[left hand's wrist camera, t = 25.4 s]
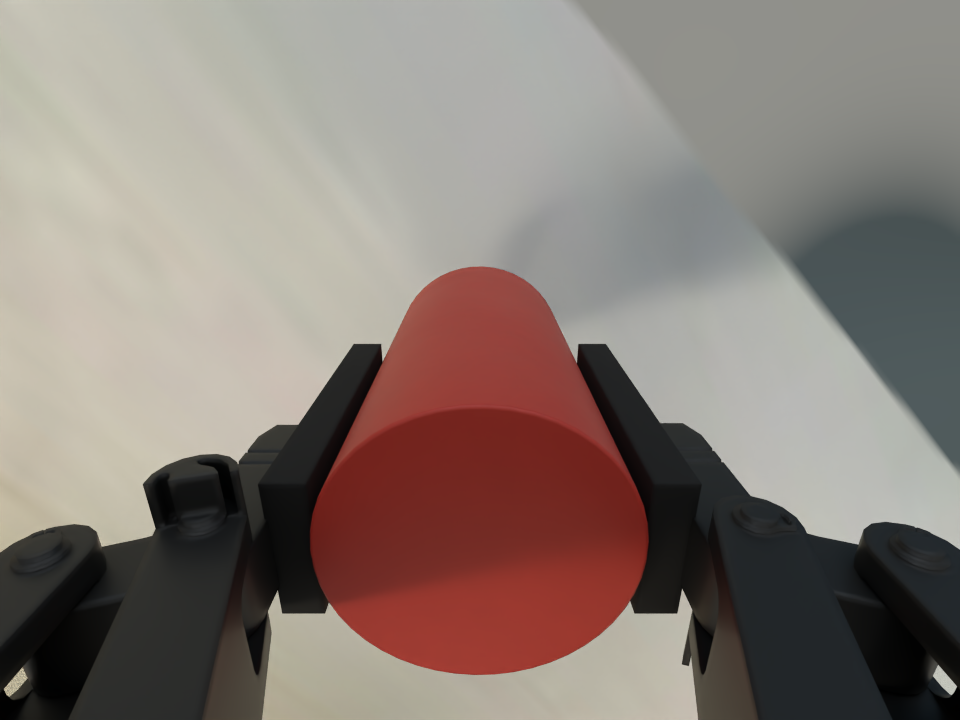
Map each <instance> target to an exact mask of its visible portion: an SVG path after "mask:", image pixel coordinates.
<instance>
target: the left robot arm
mask: <svg viewBox="0 0 960 720" xmlns="http://www.w3.org/2000/svg"><path fill="white" fill-rule="evenodd" d="M381 365H382V350H381V344H354V345H353V346H352V348H351V349H350V350H349V352H348V353H347V355H346V356H345V358H344V359H343V361H342V362H341V364H340V365H339V366H338V368H337V369H336V371H335V372H334V374H333V375H332V377H331V378H330V380H329V381H328V382H327V384H326V385H325V387H324V388H323V390H322V391H321V393H320V394H319V396H318V397H317V399H316V400H315V401H314V403H313V404H312V406H311V407H310V409H309V410H308V412H307V413H306V415H305V416H304V417H303V419H302V420H301V422H300V423H299V425H276V426H275V427H273V428H272V429H270V430H268V431H267V432H265V433H264V434H262V435H260V436H259V437H258V438H257V439H256V441H255V442H254V443H253V444H252V446H251V447H250V448H249V449H248V453H245V454H244V456H243V457H242V458H241V459H240V461H239V464H237V462H236V461H235V460H233V459H232V458H231V457H229V456H224V455H219V454H209V455H198V456H193V457H189V458H184V459H181V460H179V461H176V462H174V463H171V464H169V465H166V466H164V467H163V468H161V469H160V470H158V471H156V472H155V473H153V474H152V475H151V476H150V477H149V478H148V479H147V480H146V481H145V482H144V484H143V487H144V490H145V493H146V497H147V500H148V504H149V507H150V511H151V514H152V518H153V521H154V524H155V528H156V529H155V531H154V534H153V536H150V537H147V538H143V539H138V540H133V541H128V542H123V543H119V544H114V545H109V546H104V547H102V546H101V543H100V541H99V538H98V535H97V532H96V531H95V530H93V529H92V528H91V527H89V526H84V525H76V524H73V525H65V526H58V527H53V528H48V529H46V530H44V531H43V530H42V531H39V532H36V533H33V534H31V535H30V536H28V537H26V538H24V539H22V540H20V541H18V542H16V543H13V544H12V545H11V546H9V547H8V548H6V549H5V550H3V551H2V552H0V720H262V713H263V704H264V695H265V686H266V677H267V669H268V660H269V651H270V642H271V633H272V632H271V626H270V620H269V615H268V610H269V608H270V605H271V603H272V601H273V599H274V597H275V595H276V593H277V590H278V593H279V598H280V604H281V609H282V613H325V612H326V609H327V606H328V603H329V601H328V600H327V598H326V596H325V594H324V592H323V591H322V589H321V587H320V585H319V582H318V579H317V576H316V574H315V571H314V567H313V562H312V557H311V551H310V528H311V521H312V514H313V511H314V508H315V504H316V501H317V498H318V495H319V493H320V491H321V489H322V487H323V485H324V483H325V481H326V479H327V477H328V475H329V473H330V471H331V468H332V466H333V464H334V462H335V460H336V458H337V456H338V454H339V452H340V450H341V448H342V446H343V444H344V442H345V439H346V437H347V435H348V433H349V431H350V429H351V427H352V425H353V423H354V421H355V419H356V417H357V415H358V412H359V410H360V408H361V406H362V404H363V402H364V400H365V398H366V396H367V394H368V392H369V390H370V388H371V386H372V383H373V381H374V379H375V377H376V375H377V373H378V371H379V369H380V367H381ZM577 365H578V367H579V369H580V371H581V373H582V376H583V378H584V380H585V382H586V384H587V386H588V388H589V390H590V392H591V394H592V396H593V398H594V400H595V403H596V405H597V407H598V409H599V411H600V413H601V415H602V417H603V419H604V421H605V423H606V425H607V428H608V430H609V432H610V434H611V436H612V438H613V440H614V442H615V444H616V446H617V448H618V450H619V452H620V455H621V457H622V459H623V461H624V463H625V465H626V467H627V469H628V471H629V473H630V475H631V477H632V480H633V482H634V484H635V486H636V488H637V490H638V493H639V495H640V498H641V500H642V503H643V505H644V509H645V514H646V518H647V523H648V539H649V543H648V552H647V560H646V564H645V568H644V571H643V575H642V578H641V580H640V583H639V585H638V587H637V589H636V591H635V594H634V595H633V597H632V598H631V600H630V602H631V604H632V607H633V610H634V613H677V612H678V607H679V602H680V596H681V591H682V589H683V591H684V593H685V595H686V597H687V599H688V601H689V604H690V606H691V608H692V615H691V620H690V625H689V630H688V634H687V639H686V644H685V649H684V654H683V661H682V664H683V665H687V666H689V663H690V658H692V667H693V676H694V685H695V694H696V703H697V712H698V720H960V550H959V549H958V548H956V547H955V546H953V545H952V544H951V543H949V542H948V541H946V540H944V539H942V538H940V537H937V536H935V535H933V534H931V533H930V532H928V531H926V530H923V529H920V528H915V527H914V526H909V525H905V524H897V523H890V522H881V523H873V524H871V525H869V526H868V527H867V528H865V529H864V530H863V533H862V536H861V539H860V542H859V545H857V544H852V543H847V542H842V541H838V540H833V539H828V538H823V537H818V536H814V535H810V534H807V533H806V530H805V528H804V527H803V526H802V524H801V523H800V522H799V520H798V519H797V518H796V517H795V516H794V515H792V514H791V513H790V512H788V511H787V510H785V509H784V508H783V507H780V506H778V505H776V504H774V503H772V502H769V501H767V500H764V499H760V498H756V497H752V496H750V495H749V494H748V492H747V491H746V490H745V489H744V487H743V486H742V485H741V484H740V482H739V481H738V480H737V479H736V477H735V476H734V475H733V474H732V472H731V471H730V470H729V469H728V468H727V466H726V465H725V464H724V463H723V462H721V459H720V458H719V456H718V455H717V454H716V453H715V451H712V448H711V446H710V445H709V444H708V443H707V441H706V440H705V439H704V438H703V437H702V435H701V434H699V433H697V432H696V431H694V430H693V429H691V428H689V427H688V426H686V425H685V424H683V423H660V422H659V421H658V420H657V418H656V417H655V415H654V414H653V412H652V411H651V409H650V408H649V406H648V405H647V403H646V402H645V401H644V399H643V398H642V396H641V395H640V393H639V392H638V390H637V389H636V387H635V386H634V385H633V383H632V382H631V380H630V379H629V377H628V376H627V374H626V373H625V371H624V370H623V368H622V367H621V366H620V364H619V363H618V361H617V360H616V358H615V357H614V355H613V354H612V352H611V351H610V350H609V348H608V347H607V345H606V344H579V345H578V358H577ZM938 665H939V666H940V667H941V668H942V669H943V671H944V672H945V673H946V674H947V675H948V676H949V677H950V679H951V680H952V681H953V682H954V683H955V684H956V686H957V688H956V690H955V692H954V694H952V695H950V694H949V693H948V692H947V691H946V690H944V689H943V688H942V687H941V685H940V684H939V683H938V682H937V681H936V679H935V678H934V677H933V674H934V672H935V670H936V668H937V666H938ZM22 667H23V669H24V671H25V673H26V675H27V678H28V679H27V680H26V681H25V682H24V683H23V685H22V686H21V687H20V688H19V689H18V690H17V691H16V692H15V693H14V694H13V695H11V696H10V697H8V696H7V695H6V693H5V691H4V688H5V687H6V686H7V684H8V683H9V682H10V681H11V680H12V679H13V677H14V676H15V675H16V674H17V673H18V672H19V671H20V669H21V668H22Z"/></svg>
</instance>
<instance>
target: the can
mask: <svg viewBox="0 0 960 720" xmlns="http://www.w3.org/2000/svg"><path fill="white" fill-rule="evenodd" d="M648 543H649V539H648V523H647V518H646V514H645V509H644V505H643V503H642V500H641V498H640V495H639V493H638V490H637V488H636V486H635V484H634V482H633V480H632V477H631V475H630V473H629V471H628V469H627V467H626V465H625V463H624V461H623V459H622V457H621V455H620V452H619V450H618V448H617V446H616V444H615V442H614V440H613V438H612V436H611V434H610V432H609V430H608V428H607V425H606V423H605V421H604V419H603V417H602V415H601V413H600V411H599V409H598V407H597V405H596V403H595V400H594V398H593V396H592V394H591V392H590V390H589V388H588V386H587V384H586V382H585V380H584V378H583V376H582V373H581V371H580V369H579V367H578V365H577V363H576V361H575V359H574V357H573V355H572V353H571V351H570V348H569V346H568V344H567V342H566V340H565V338H564V336H563V334H562V332H561V330H560V328H559V326H558V324H557V321H556V319H555V317H554V315H553V313H552V311H551V309H550V307H549V306H548V304H547V302H546V301H545V299H544V298H543V297H542V295H541V294H540V293H539V292H538V291H537V290H536V289H535V288H534V287H533V286H532V285H531V284H529V283H528V282H526V281H525V280H524V279H522V278H520V277H518V276H516V275H515V274H512V273H510V272H507V271H504V270H501V269H496V268H491V267H468V268H462V269H458V270H455V271H451V272H449V273H447V274H444V275H442V276H440V277H439V278H437V279H435V280H434V281H432V282H431V283H430V284H428V285H427V286H426V287H425V288H424V289H423V290H422V291H421V292H420V293H419V294H418V295H417V296H416V298H415V299H414V301H413V302H412V303H411V305H410V307H409V309H408V311H407V313H406V315H405V317H404V319H403V321H402V323H401V325H400V327H399V330H398V332H397V334H396V336H395V338H394V340H393V342H392V344H391V346H390V348H389V350H388V352H387V354H386V356H385V359H384V361H383V363H382V365H381V367H380V369H379V371H378V373H377V375H376V377H375V379H374V381H373V383H372V386H371V388H370V390H369V392H368V394H367V396H366V398H365V400H364V402H363V404H362V406H361V408H360V410H359V412H358V415H357V417H356V419H355V421H354V423H353V425H352V427H351V429H350V431H349V433H348V435H347V437H346V439H345V442H344V444H343V446H342V448H341V450H340V452H339V454H338V456H337V458H336V460H335V462H334V464H333V466H332V468H331V471H330V473H329V475H328V477H327V479H326V481H325V483H324V485H323V487H322V489H321V491H320V493H319V495H318V498H317V501H316V504H315V508H314V511H313V514H312V521H311V528H310V551H311V557H312V562H313V567H314V571H315V574H316V576H317V579H318V582H319V585H320V587H321V589H322V591H323V592H324V594H325V596H326V598H327V600H328V601H329V603H330V604H331V606H332V607H333V608H334V610H335V611H336V612H337V614H338V615H339V616H340V617H341V618H342V619H343V620H344V621H345V622H346V623H347V624H348V625H349V627H350V628H351V629H353V630H354V631H355V632H356V633H358V634H359V635H360V636H361V637H362V638H364V639H365V640H366V641H368V642H369V643H371V644H373V645H374V646H376V647H377V648H379V649H380V650H382V651H384V652H386V653H388V654H390V655H392V656H394V657H396V658H398V659H401V660H404V661H406V662H409V663H412V664H414V665H417V666H421V667H425V668H429V669H432V670H437V671H443V672H449V673H456V674H470V675H487V674H501V673H510V672H516V671H521V670H525V669H530V668H534V667H537V666H540V665H544V664H547V663H550V662H552V661H555V660H557V659H559V658H562V657H564V656H566V655H569V654H570V653H572V652H574V651H576V650H578V649H579V648H581V647H583V646H585V645H586V644H587V643H589V642H590V641H592V640H593V639H594V638H596V637H597V636H599V635H600V634H601V633H602V632H603V631H604V630H605V629H607V628H608V627H609V626H610V625H611V624H612V623H613V622H614V621H615V620H616V619H617V617H618V616H619V615H620V614H621V613H622V612H623V610H624V609H625V608H626V606H627V605H628V603H629V602H630V600H631V598H632V597H633V595H634V594H635V591H636V589H637V587H638V585H639V583H640V580H641V578H642V575H643V571H644V568H645V564H646V560H647V552H648Z"/></svg>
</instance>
